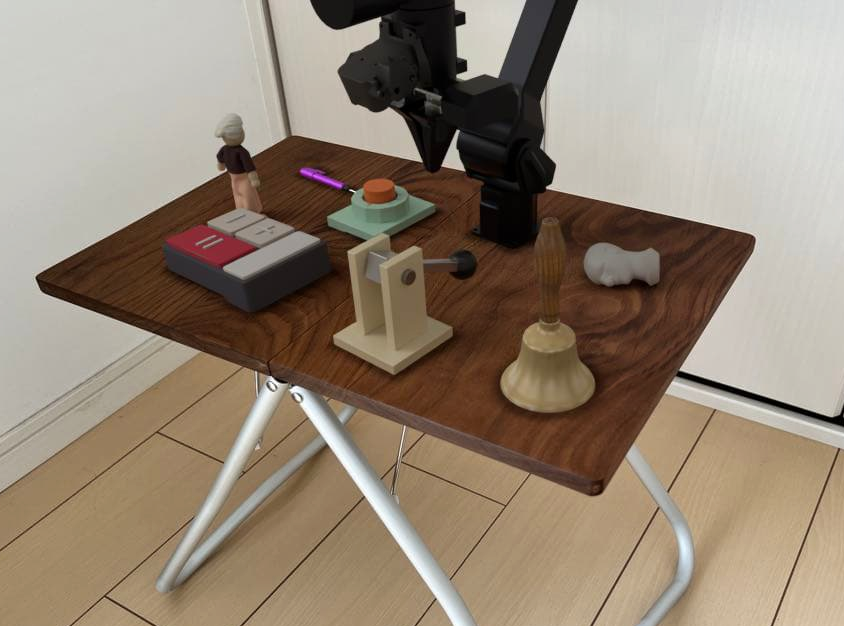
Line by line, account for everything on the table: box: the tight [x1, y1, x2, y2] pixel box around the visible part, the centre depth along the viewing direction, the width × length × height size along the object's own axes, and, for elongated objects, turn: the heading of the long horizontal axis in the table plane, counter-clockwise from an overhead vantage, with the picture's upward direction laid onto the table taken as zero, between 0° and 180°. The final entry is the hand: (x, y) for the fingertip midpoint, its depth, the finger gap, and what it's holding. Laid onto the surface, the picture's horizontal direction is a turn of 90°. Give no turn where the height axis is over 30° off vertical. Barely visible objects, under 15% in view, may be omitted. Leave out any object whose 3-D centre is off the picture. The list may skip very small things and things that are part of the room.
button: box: [362, 178, 396, 204], centre depth 101 cm, size 4×4×2 cm
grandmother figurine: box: [213, 112, 269, 219], centre depth 100 cm, size 8×4×13 cm, turn 58°
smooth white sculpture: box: [583, 242, 661, 288], centre depth 89 cm, size 4×8×5 cm
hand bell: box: [500, 216, 596, 414], centre depth 72 cm, size 8×8×16 cm
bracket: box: [332, 233, 454, 376], centre depth 80 cm, size 8×8×10 cm
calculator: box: [161, 208, 332, 314], centre depth 93 cm, size 11×4×15 cm
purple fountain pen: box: [299, 167, 357, 194], centre depth 110 cm, size 3×1×16 cm
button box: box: [326, 184, 436, 241], centre depth 102 cm, size 10×8×3 cm
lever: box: [365, 249, 478, 284], centre depth 82 cm, size 14×3×3 cm, turn 139°
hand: (433, 171), depth 86 cm, fingers closed
